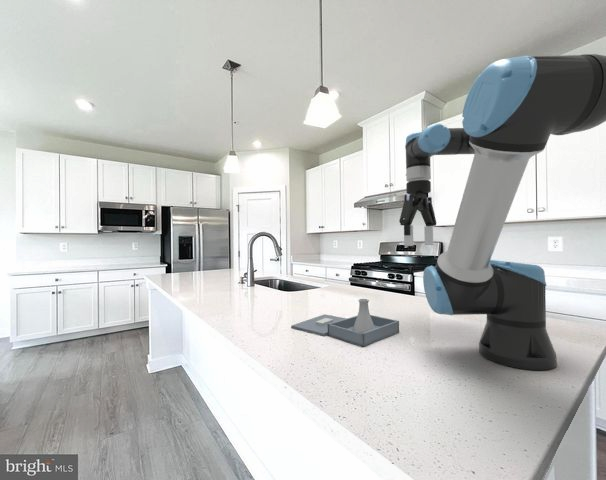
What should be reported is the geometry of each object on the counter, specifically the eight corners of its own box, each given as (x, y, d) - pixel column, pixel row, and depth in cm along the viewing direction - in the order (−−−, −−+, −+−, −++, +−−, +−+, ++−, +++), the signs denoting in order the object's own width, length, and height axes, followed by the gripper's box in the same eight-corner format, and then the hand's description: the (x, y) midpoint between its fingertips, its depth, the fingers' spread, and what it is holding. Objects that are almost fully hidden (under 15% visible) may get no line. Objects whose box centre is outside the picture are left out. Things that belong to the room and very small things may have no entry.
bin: (399, 332, 91) (399, 321, 91) (363, 347, 79) (362, 334, 79) (364, 323, 101) (364, 313, 101) (327, 335, 89) (327, 324, 89)
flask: (374, 328, 94) (374, 297, 94) (378, 336, 86) (377, 302, 86) (351, 328, 94) (351, 297, 94) (353, 335, 87) (352, 302, 87)
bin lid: (355, 322, 103) (355, 317, 103) (324, 336, 89) (324, 331, 89) (324, 316, 112) (324, 312, 112) (291, 328, 98) (291, 323, 98)
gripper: (425, 187, 109) (426, 244, 109) (387, 178, 92) (388, 246, 92) (446, 183, 103) (447, 244, 103) (409, 174, 87) (410, 246, 87)
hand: (419, 245), depth 98 cm, fingers open, 13 cm apart
